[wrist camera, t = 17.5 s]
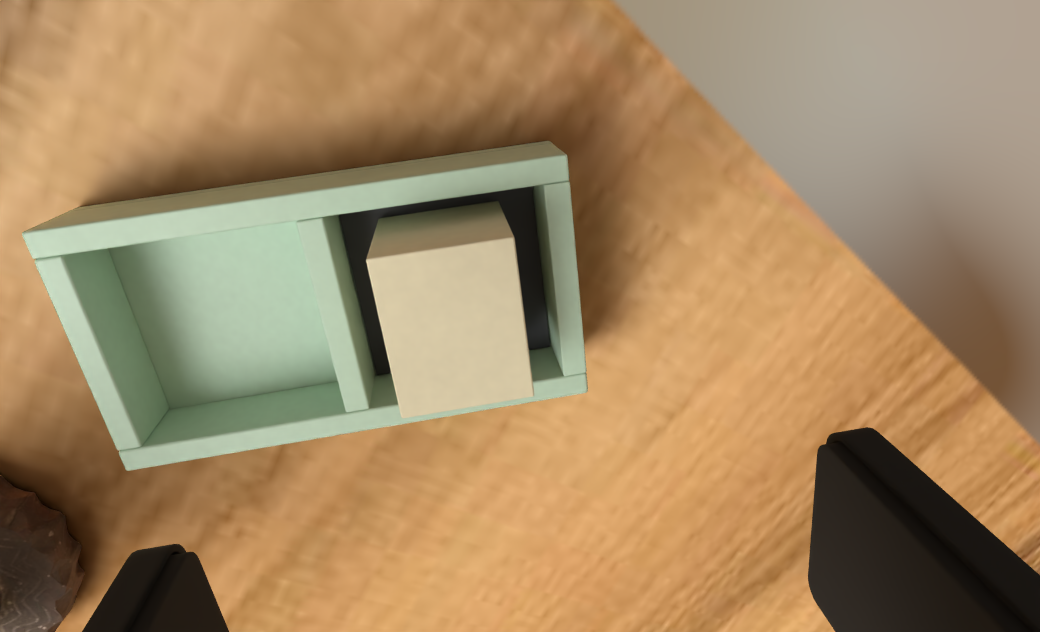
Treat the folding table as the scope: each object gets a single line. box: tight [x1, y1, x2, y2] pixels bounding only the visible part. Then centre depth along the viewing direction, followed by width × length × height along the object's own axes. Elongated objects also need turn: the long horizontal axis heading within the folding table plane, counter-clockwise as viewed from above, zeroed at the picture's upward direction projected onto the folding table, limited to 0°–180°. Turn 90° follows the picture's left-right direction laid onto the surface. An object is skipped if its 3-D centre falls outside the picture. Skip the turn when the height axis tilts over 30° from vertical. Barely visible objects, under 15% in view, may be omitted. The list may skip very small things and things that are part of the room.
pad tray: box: [22, 141, 588, 471], centre depth 21 cm, size 8×15×3 cm, turn 97°
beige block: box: [366, 201, 534, 418], centre depth 20 cm, size 4×5×4 cm
